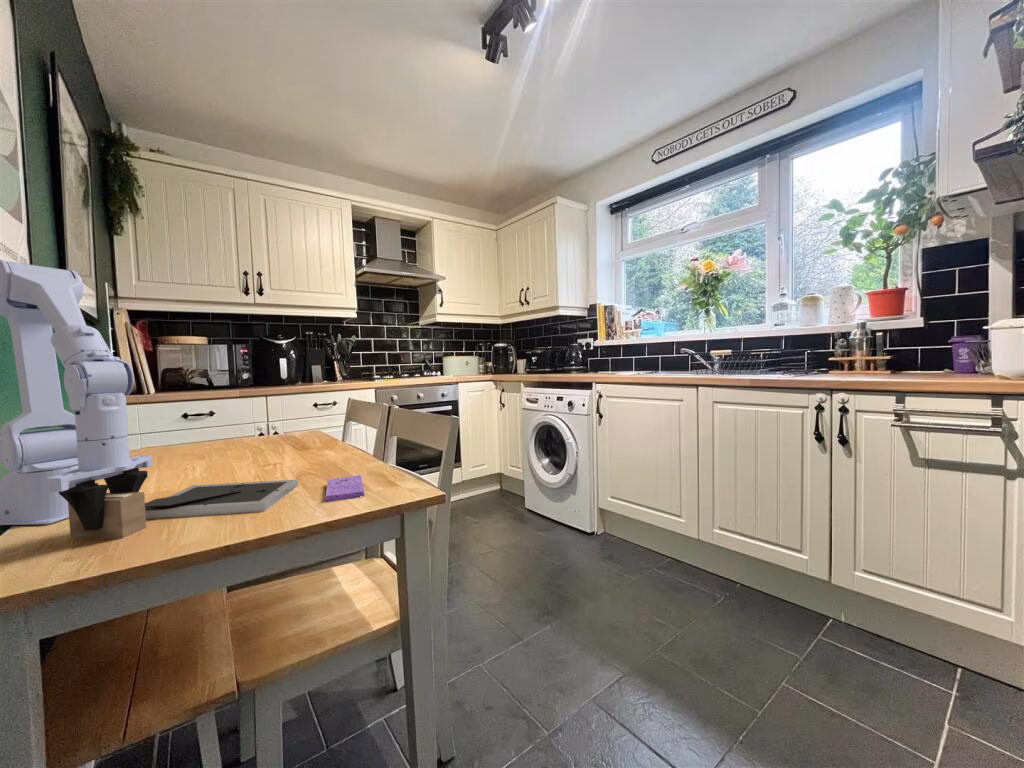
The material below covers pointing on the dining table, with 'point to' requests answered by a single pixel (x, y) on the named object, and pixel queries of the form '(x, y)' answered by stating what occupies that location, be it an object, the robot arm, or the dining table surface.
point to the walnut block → (113, 517)
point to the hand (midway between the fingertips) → (108, 523)
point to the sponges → (344, 488)
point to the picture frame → (220, 499)
